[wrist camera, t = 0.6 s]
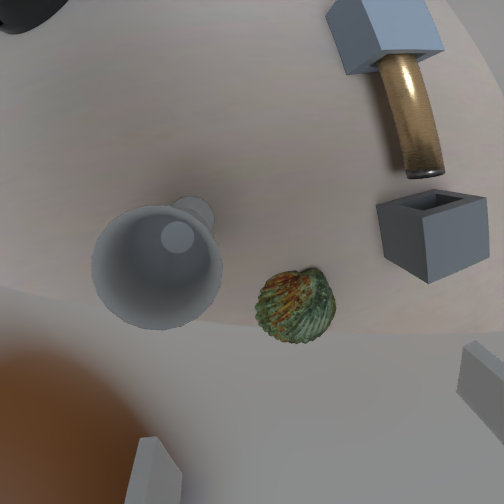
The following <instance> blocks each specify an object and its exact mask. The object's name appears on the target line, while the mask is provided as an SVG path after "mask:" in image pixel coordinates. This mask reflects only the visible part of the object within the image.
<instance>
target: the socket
mask: <svg viewBox="0 0 504 504" xmlns="http://www.w3.org/2000/svg"><path fill="white" fill-rule="evenodd" d="M376 208H377V213H378V219H379V225H380V231H381V237H382V243H383V250H384V257H385V258H386V259H388V260H390V261H391V262H393V263H395V264H396V265H398V266H400V267H401V268H403V269H405V270H406V271H408V272H410V273H411V274H413V275H414V276H416V277H418V278H419V279H421V280H423V281H424V282H426V283H427V284H430V283H432V282H435V281H437V280H439V279H442V278H444V277H446V276H449V275H451V274H453V273H456V272H458V271H460V270H463V269H465V268H467V267H469V266H471V265H474V264H476V263H478V262H480V261H482V260H485V259H487V258H489V226H488V212H487V200H486V198H485V197H480V196H474V195H468V194H462V193H456V192H450V191H443V190H437V189H434V190H430V191H426V192H423V193H419V194H415V195H412V196H408V197H404V198H401V199H397V200H393V201H390V202H386V203H382V204H379V205H376Z"/></svg>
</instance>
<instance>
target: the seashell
mask: <svg viewBox="0 0 504 504" xmlns="http://www.w3.org/2000/svg"><path fill="white" fill-rule="evenodd" d="M260 292H261V295H260V296H259V297H258V299H259V302H258V303H257V304H256V306H255V309H256V310H257V314H256V316H255V318H256V319H257V320H259V323H258V324H259V326H262V327H263V330H264V331H265V332H268V334H269V336H274V338H275V339H277V340H278V339H279V340H280V341H281V342H289V343H296V344H298V343H300V342H302V343H305V344H306V343H307V342H309V341H313V340H315V339H316V338H317V337H320V336H321V335H322V334H323V333H324V332H325V330H327V329H328V327H329V325H330V322H331V320H332V319H333V318H334V314H335V311H336V303H335V299H334V296H333V294H332V290H331V288H330V287H329V285H328V282H327V280H326V278H325V276H324V275H323V273H322V272H321V271H319V270H317V269H315V268H313V269H309V270H307V271H304V272H302V273H298V272H297V271H288V272H283V273H280V274H277V275H275V276H273V277H272V278H271V279H269V280H268V281H267V282H266V285H265V287H264V288H262V289H261V290H260Z"/></svg>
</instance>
